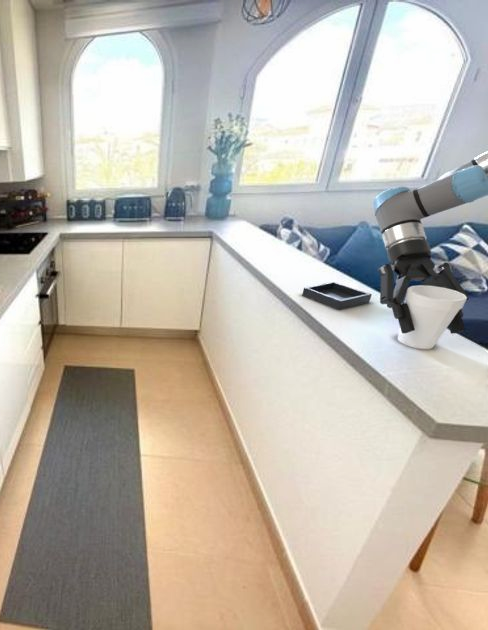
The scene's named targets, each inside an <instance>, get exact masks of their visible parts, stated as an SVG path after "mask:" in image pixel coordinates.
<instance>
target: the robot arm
mask: <svg viewBox="0 0 488 630" xmlns="http://www.w3.org/2000/svg"><path fill="white" fill-rule="evenodd" d="M487 196H488V150H487V151H486V152H484V153H482V154H480V155H478V156H477V157H474V158H473V159H471V160H469V161H467V162H465V163H463V164H461V165H460V166H458V167H457V166H456V168H452V169H450V170H448V171H447V172H445V173H443V174H442V175H440V176H439V177H438V178H437V179H436V180H435V181H432V182H429V183H427V184H425V185H423V186H421V187H418V188H414V189H410V188H409V187H408V186H396V187H394V188H388V189H386V190H383V191H382V192H381V193H379V194H378V195H377V196H375V198H374V199H373V204H372V205H373V209H374V216H375V218H376V221H377V225H378V227H379V230H380V233H381V239H382V241H383V242H382V243H383V245H384V248H385V250H386V255H387V259H388V262H389V263H385V264H384V265H382V266H381V267H379V268H378V270H377V272H378V273H379V275H380V291H379V292H380V293H379V294H380V295H379V296H380V297H379V303H380V304H381V305H386V307H387V308H389V309H392V313H393V317H394V319H395V320H397V321H398V323H399V328H401V331H402V333H408V332H411V331H414V330H415V328H414V325H413V322H412V318H411V315H410V311H409V308H408V305H407V303H403V302H404V300H405V298H404V297H405V294H406V292H407V289H408V288H409V284H410V282H413V281H415V282H420V283H421V285H426V286H436V287H443V288H447V289H451V290H455V291H458V292H460V293H462V294H464V295H465V296H466V297H467V299H466V301H468V300H469V299H470V298H469V296H468V293H466V291H465V290H464V288H463V286H462V285H461V284H460V282H459V281H458V280H457V277H456V276H455V274H453V272H452V269H451V266H450V263H449V262H446V261H445V262H443V263H441V264H440V263H435V262H434V261H433V260H432V258H431V257H432V250H431V247H430V243H429V241H427V235H426V232H425V229H424V226H423V223H422V219H425V218H428V217H431V216H433V215H436V214H439V213H443V212H445V211H448V210H451V209H453V208H457V207H459V206H462V205H465V204H468V203H469V204H471V203H473V202H475V201H477V200H479V199H482V198H484V197H487ZM394 273H395V275H397V276H396V279H395V278H394V276H395V275H394ZM394 281H395V282H394ZM394 283H395V286H394ZM463 318H464V312H463V308H461V309H460V310H459V311H458V313H457V314H456V315H455V317H454V318H453V320H452V321H451V323H450V324H449V325H448V328H449V331H450V334H457V333H461V332H464V331H466V330H467V329H466V326H465V323H464V321H463Z"/></svg>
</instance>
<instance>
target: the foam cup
mask: <svg viewBox="0 0 488 630" xmlns="http://www.w3.org/2000/svg"><path fill="white" fill-rule="evenodd" d="M466 299H467V297H466V296H465V295H464V294H462V293H460V292H458V291H455V290H451V289H447V288H443V287H436V286H427V285H425V284H419V285H418V284H417V285H411V286H408V287H407V290H406V293H405V296H404V301H403V302H404V303H407V305H408V308H409V311H410V315H411V318H412V322H413V325H414V328H415V330H414V331H411V332H408V333H402V331H401V328H400V327H399V329H398V333H397V340H398V342H400V343H401V344H403V345H404V346H405V345H406V346H408V347H411V348H415V349H420V350H429V349H432V348H434V346H435V345H436V344H437V342H438V341H439V340H440V338H441V337H442V336H443V335H444V333H445V331H446V330H447V328H449V326H448V325H449V324H450V323H451V321H452V320H453V318H454V317H455V315H456V314H457V313H458V311H459V310H460V309H463V308H464V306H465V303H466V301H467V300H466Z"/></svg>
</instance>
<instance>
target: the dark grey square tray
mask: <svg viewBox="0 0 488 630" xmlns="http://www.w3.org/2000/svg"><path fill="white" fill-rule="evenodd" d="M372 295H373V294H372V293H369V292H367V291H364V290H360V289H357V288H354V287H351V286H348V285H345V284H342V283H339V282H337V281H336V282H335V281H329V282H324V283H320V284H314V285H309V286H306V287H303V290H302V294H301V296H302V297H305V298H308V299H310V300H312V301H314V302H317V303H320V304H322V305H325V306H327V307H330V308H333V309H335V310H337V311H339V310H344V309H347V308H353V307H357V306H360V305H365V304H368V303H370V301H371V299H372Z"/></svg>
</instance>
